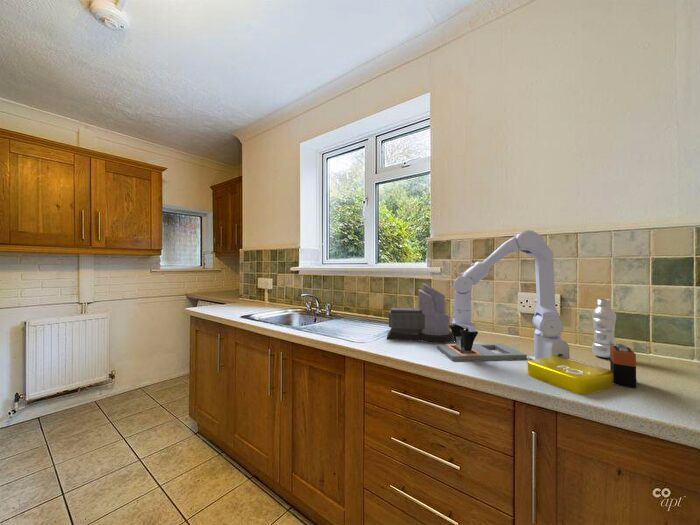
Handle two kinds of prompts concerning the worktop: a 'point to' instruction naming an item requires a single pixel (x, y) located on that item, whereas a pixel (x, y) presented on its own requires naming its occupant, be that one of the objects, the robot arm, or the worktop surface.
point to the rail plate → (482, 352)
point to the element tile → (571, 374)
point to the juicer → (422, 320)
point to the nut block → (461, 345)
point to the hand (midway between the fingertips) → (462, 347)
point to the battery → (623, 365)
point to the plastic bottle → (603, 328)
